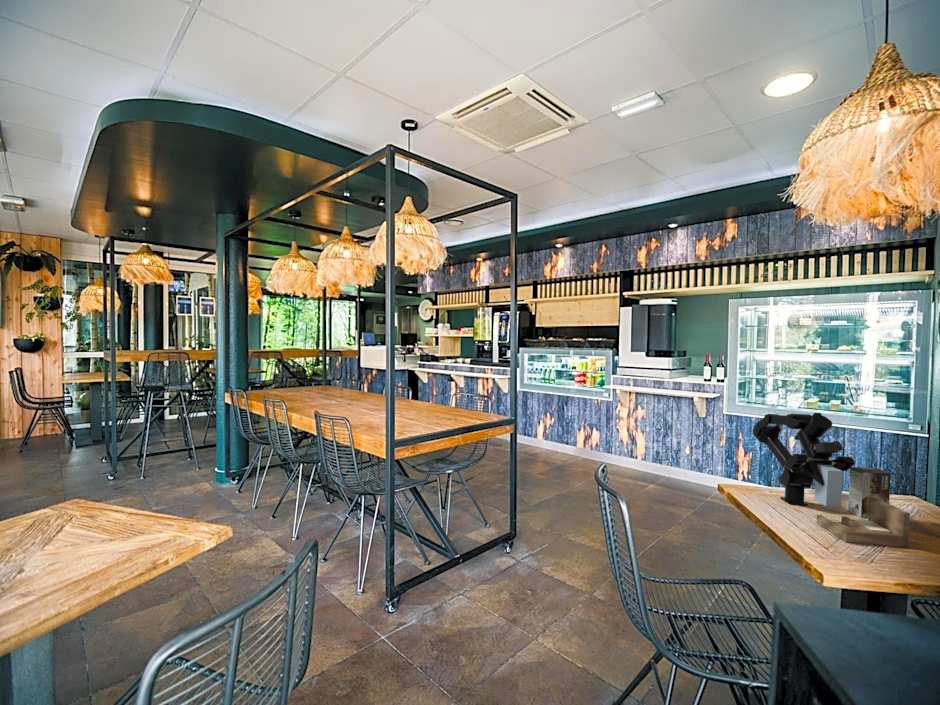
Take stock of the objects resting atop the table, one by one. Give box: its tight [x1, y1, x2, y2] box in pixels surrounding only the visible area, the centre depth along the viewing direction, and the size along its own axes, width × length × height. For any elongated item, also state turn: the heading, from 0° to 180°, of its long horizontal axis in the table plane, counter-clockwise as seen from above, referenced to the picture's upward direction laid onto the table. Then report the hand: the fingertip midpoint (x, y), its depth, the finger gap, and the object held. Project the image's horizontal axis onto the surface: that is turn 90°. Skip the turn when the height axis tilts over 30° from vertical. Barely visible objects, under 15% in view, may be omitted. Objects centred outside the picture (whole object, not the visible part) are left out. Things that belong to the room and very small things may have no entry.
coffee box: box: [847, 466, 891, 519], centre depth 157 cm, size 9×6×16 cm
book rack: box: [815, 497, 911, 548], centre depth 140 cm, size 14×17×10 cm
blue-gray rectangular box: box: [813, 465, 844, 508], centre depth 150 cm, size 6×4×12 cm
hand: (831, 485), depth 148 cm, fingers closed on blue-gray rectangular box, 4 cm apart
